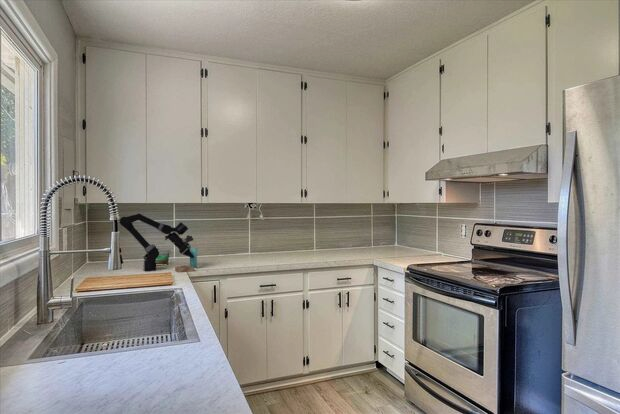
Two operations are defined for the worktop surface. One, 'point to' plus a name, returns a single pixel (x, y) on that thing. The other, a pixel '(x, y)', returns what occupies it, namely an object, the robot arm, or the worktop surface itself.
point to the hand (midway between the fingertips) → (194, 256)
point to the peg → (194, 260)
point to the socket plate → (184, 268)
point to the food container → (163, 257)
